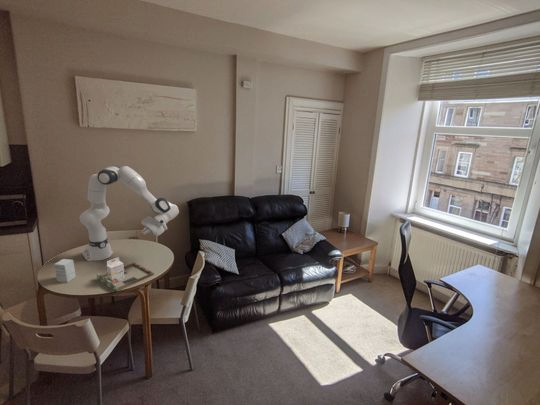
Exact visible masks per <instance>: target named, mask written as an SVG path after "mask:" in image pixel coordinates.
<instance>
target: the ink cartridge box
mask: <svg viewBox="0 0 540 405" xmlns="http://www.w3.org/2000/svg"><path fill="white" fill-rule="evenodd" d="M124 271H125V269H124V262H122V261H121V260H120V256H117V257H114V258H112V259H110V260H107V261H106V273H107V274H108V276H107V279H108V280H110V281H111V282H113V283H114V284H116V283H119V282H120V281H124V280H126V278H125V274H124Z"/></svg>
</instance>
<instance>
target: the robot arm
mask: <svg viewBox="0 0 540 405" xmlns="http://www.w3.org/2000/svg"><path fill="white" fill-rule="evenodd" d="M118 181H121V182H123V183H124V184H125V185H126V186H127V187H128V188H130V189H131V190H132V191H134V192H135V194H138V195H139V196H140V197H141V198H142V199H143V200H144V201H145V202H146V203H147V204H148V205H149V206H150V208H151V210H152V211H153V213H155V214H157V215H155V216H153V215H149V216H146V217H145V218H143V219H142V220H141V221H140V222H141V225H143V226H144V228H143V229H142V230H141V234H143V235H147V234H149V233H152V234H153V235H154V236H156V237H158V236H161V235H162V234H163V233H164V232H165V231H167V230H168V226H167V224H168V222H170V221H171V220H172V221H173V220H174V219H175V218H176V217H177V216H178V215H179V213H180V210H179V207H178V205H176V204H175V203H174V204H173V203H171V202H170V201H168V200H167V199H166V198H164V197H159V198H156V197H155V196H154V195H153V194H152V193H151V192H150V191H149V190H148V188H147V184H146V181H145V179H144V178H143V177H142V176H141V175H140V174H139V173H138V172H137V171H136V170H134V169H133V168H132V167H129V166H127V165H124V166H121V167H120V166H118V165H111V166H108V167H106V168H103V169H101V170H100V171H99V172H98V173H95V174H91V175H90V177H89V180H88V186H87V196H86V197H87V201H89V204H90V208H87V209H86V210H85V211H83V212H82V213H81V214H79V221H80V223H81V224H82V225H83V226H85V227H86V229H87V232H88V238H89V239H88V244H87V245H86V246H85V249H84V251H83V252H82V256H83V257H84V258H85V260H86V261H87V262H90V261H91V262H92V261H94V262H95V261H96V262H97V261H102V260H107V259H108V258H110V257H111V256H112V254H114V250H112V247H111V243H109V240H108V235H107V229H106V227H104V225H102V220H104V219H105V218H107V216H108V215H109V214H110V208H109V206H108V205H107V201H106V197H107V196H106V195H107V185H112V184H113V183H116V182H118Z"/></svg>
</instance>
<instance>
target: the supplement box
mask: <svg viewBox="0 0 540 405" xmlns="http://www.w3.org/2000/svg"><path fill="white" fill-rule="evenodd" d="M74 263H75V262H74V260H73V259H68V258H62V259H60V260H58V261H57V262H56V263H54V264H53V266H54V271H55V277H56V281H57V282H58V283H67V284H68V283H69V282H70V281H72V280H74V279H75V278H76V277H77V276H76V270H75V264H74Z"/></svg>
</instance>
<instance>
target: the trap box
mask: <svg viewBox="0 0 540 405" xmlns="http://www.w3.org/2000/svg"><path fill="white" fill-rule="evenodd" d="M134 266H135V267H136V268H138V269H140V270H142V271H144V272H145V273H147V274H146V275H144V276H142V277H140V278H137V277H136V276H132V277H130V278H128V279H124V280H122V283H123V285H121V286H118V285H117V284H116V283H113V282H111V281H110V280H108V274H107V272H106V273H104V274H100V273H99V272H98V273H97V272H96V279H97V280H98V281H99V282H101V283H102V284H104V285H105V286H106V287H108V288H110V289H112V290H113V291H115V292H119V291H121V290H124V289H125V288H127V287H130V286H132V285H134V284H136V283H139V282H141V281H143V280H145V279H148V278H149V277H152V276H154V275H155V273H154V272H153V271H152V270H150V269H147V268H146V267H143V266H142V265H140V264H138V263H136V262H133V263H130V264H128V265H127V264H126V265H125V266H124V275H127V274H128V273H127V272H126V271H125V270H126V269H128V268H131V267H134Z"/></svg>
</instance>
